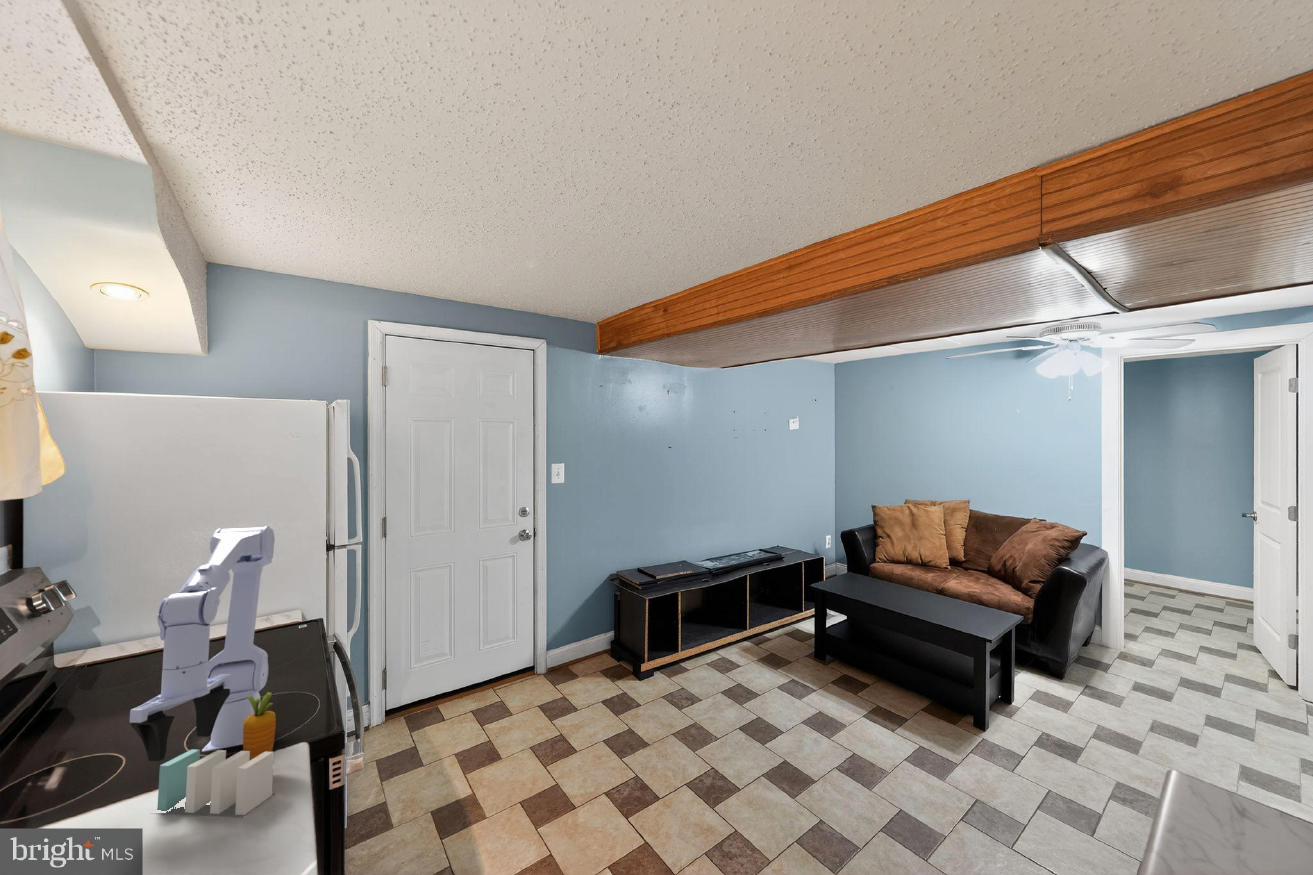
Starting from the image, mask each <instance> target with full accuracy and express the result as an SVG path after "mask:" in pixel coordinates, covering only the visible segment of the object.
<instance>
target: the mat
mask: <svg viewBox="0 0 1313 875" xmlns="http://www.w3.org/2000/svg"><path fill="white" fill-rule="evenodd" d="M275 795H276V793H273V792H272V796H270V797H269V798H268V799H266V800H265V801H263V802H262V803H261V804H259V805H258V806H256V807H255V808H254V809H252V810H251V811H249V812H248V813H247V814H245V815H235V810H236V803H234V804H233V805H231V806H230V807H228V808H227V809H225V810H224V811H222V812H221V813H220V814H210V805H205V806H204V807H202V808H200V809H199V810H197V811H196V812H194V813H188V812H185V809H184V807H180V808H177V809H176V807H175V809H174V807H173V809H171V811H169V812H168V811H167V812H166V814H165V815H175V816H176V815H181V816H200V817H201V816H202V817H203V816H204V817H220V818H221V817H223V818H226V817H227V818H244V817H245V816H247V815H248V814H249V813H251V812H252V811H254V810H256V809H257V808H258V807H260V806H261V805H262V804H263V803H265V802H266V801H268V800H269V799H271V798H272V797H273V796H275Z"/></svg>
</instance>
